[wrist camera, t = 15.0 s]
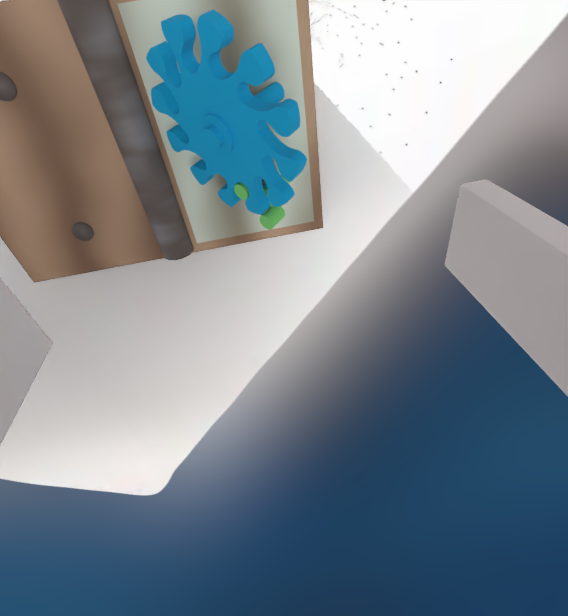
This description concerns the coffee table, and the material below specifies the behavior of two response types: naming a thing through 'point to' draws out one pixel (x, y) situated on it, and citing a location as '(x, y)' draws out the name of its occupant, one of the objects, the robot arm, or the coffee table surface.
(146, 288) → the coffee table surface
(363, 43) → the coffee table surface
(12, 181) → the hinge board
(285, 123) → the gear
